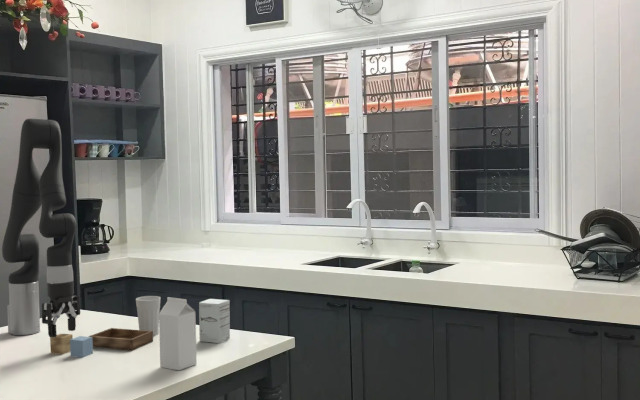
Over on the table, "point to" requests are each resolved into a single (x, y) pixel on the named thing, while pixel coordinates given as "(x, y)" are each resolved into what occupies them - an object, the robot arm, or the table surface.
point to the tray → (122, 339)
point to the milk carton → (177, 334)
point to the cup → (148, 313)
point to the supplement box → (214, 320)
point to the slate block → (81, 346)
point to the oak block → (60, 343)
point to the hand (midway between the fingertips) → (62, 333)
